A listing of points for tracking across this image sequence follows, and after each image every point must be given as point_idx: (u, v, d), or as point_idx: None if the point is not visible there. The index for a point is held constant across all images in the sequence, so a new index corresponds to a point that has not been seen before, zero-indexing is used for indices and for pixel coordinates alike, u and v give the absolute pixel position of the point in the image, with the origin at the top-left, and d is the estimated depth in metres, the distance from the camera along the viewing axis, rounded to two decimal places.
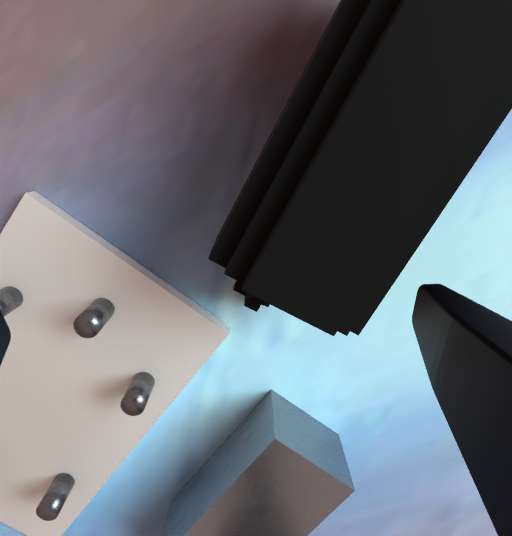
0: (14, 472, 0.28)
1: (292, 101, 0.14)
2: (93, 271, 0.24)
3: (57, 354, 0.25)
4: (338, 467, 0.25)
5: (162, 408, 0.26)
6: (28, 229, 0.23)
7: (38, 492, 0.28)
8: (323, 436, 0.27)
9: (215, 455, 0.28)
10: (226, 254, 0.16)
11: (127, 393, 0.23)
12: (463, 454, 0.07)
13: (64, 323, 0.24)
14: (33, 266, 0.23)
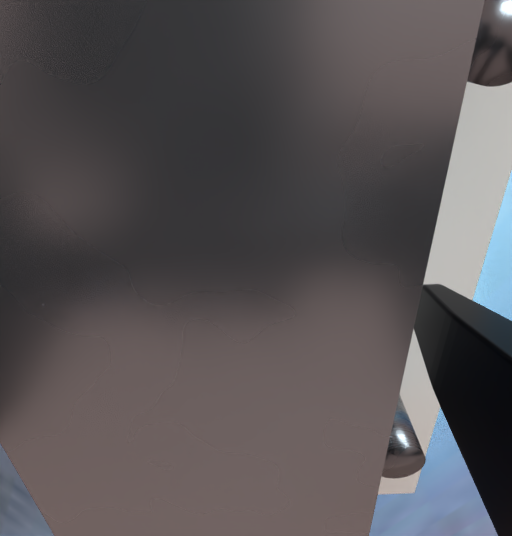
0: None
1: None
2: None
3: None
4: None
5: None
6: None
7: None
8: None
9: None
10: None
11: None
12: (463, 454, 0.07)
13: None
14: None
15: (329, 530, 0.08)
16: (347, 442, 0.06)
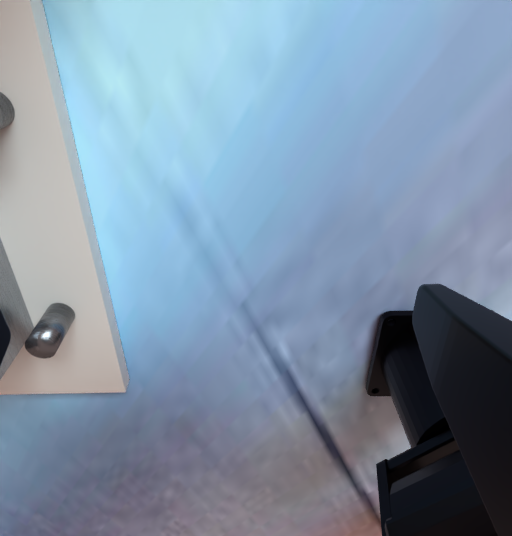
0: None
1: None
2: None
3: None
4: None
5: (56, 134, 0.16)
6: None
7: None
8: None
9: None
10: None
11: None
12: (463, 454, 0.07)
13: None
14: None
15: None
16: None
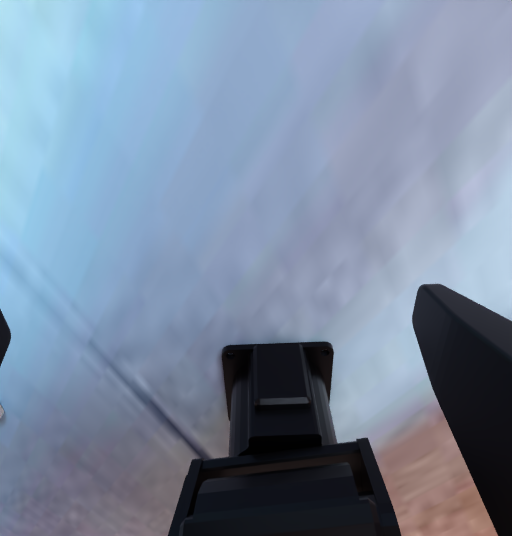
0: None
1: None
2: None
3: None
4: None
5: None
6: None
7: None
8: None
9: None
10: None
11: None
12: (463, 454, 0.07)
13: None
14: None
15: None
16: None
